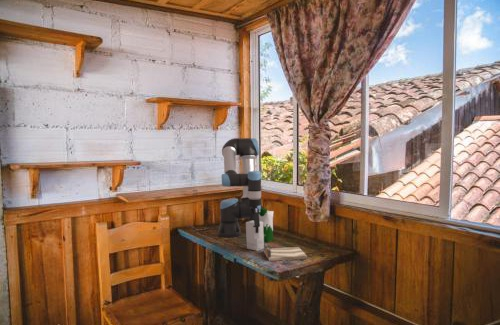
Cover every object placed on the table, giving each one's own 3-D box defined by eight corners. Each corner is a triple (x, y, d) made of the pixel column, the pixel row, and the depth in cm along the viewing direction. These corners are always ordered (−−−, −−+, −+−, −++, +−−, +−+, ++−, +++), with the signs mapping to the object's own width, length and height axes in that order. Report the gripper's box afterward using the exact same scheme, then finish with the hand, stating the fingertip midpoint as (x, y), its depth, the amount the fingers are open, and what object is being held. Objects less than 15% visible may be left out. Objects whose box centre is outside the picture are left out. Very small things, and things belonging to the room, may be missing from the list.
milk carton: (255, 241, 221) (255, 208, 220) (263, 237, 229) (263, 206, 228) (268, 243, 216) (267, 210, 215) (275, 239, 224) (275, 207, 223)
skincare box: (264, 248, 205) (264, 221, 204) (256, 251, 200) (256, 223, 199) (253, 246, 211) (253, 219, 210) (245, 248, 206) (245, 221, 205)
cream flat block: (262, 251, 200) (262, 242, 200) (298, 249, 203) (298, 240, 202) (267, 260, 184) (267, 251, 184) (307, 258, 187) (307, 249, 187)
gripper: (245, 195, 216) (245, 230, 217) (250, 201, 191) (251, 241, 192) (257, 195, 217) (258, 230, 218) (264, 201, 192) (265, 240, 193)
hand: (254, 235), depth 205 cm, fingers open, 13 cm apart
